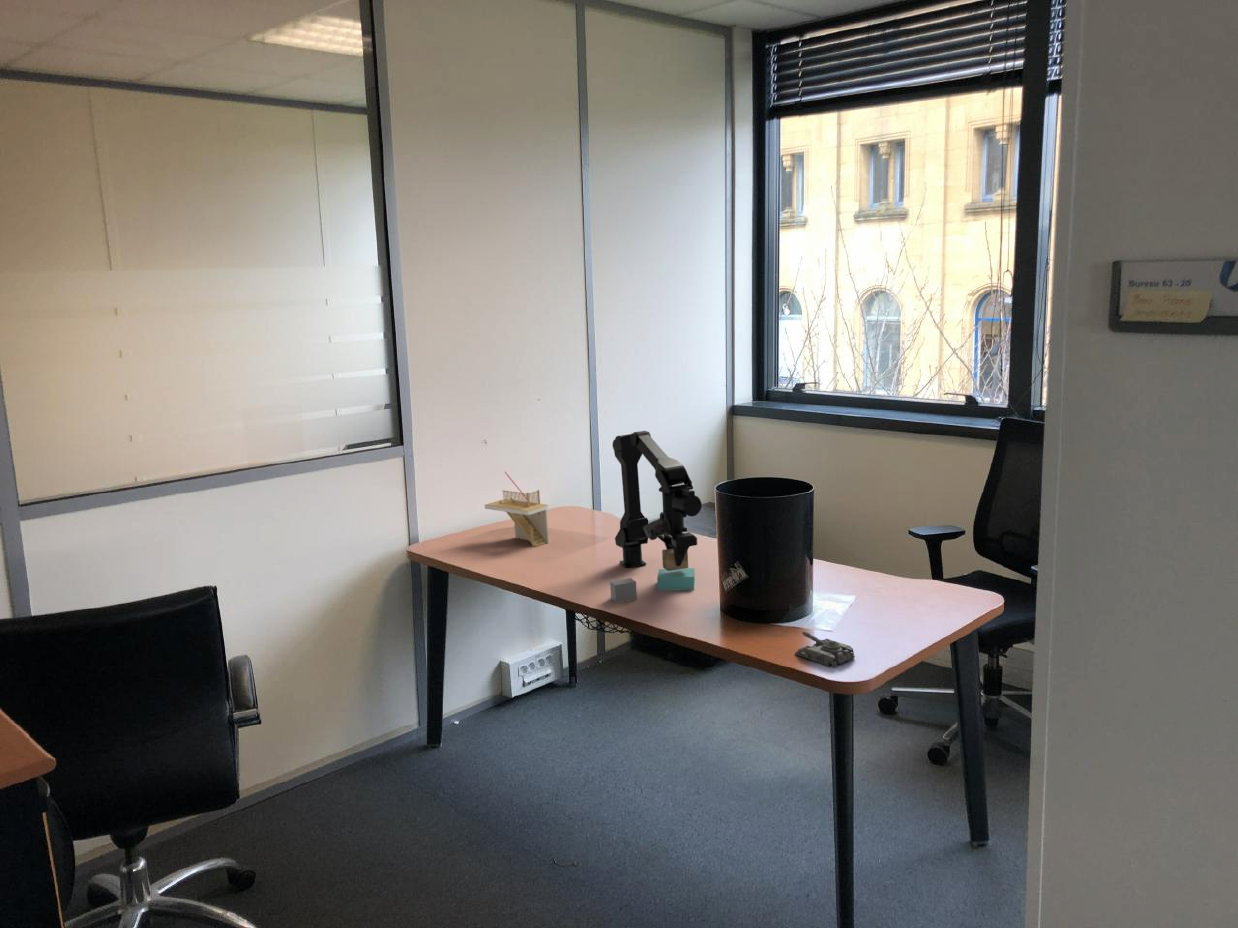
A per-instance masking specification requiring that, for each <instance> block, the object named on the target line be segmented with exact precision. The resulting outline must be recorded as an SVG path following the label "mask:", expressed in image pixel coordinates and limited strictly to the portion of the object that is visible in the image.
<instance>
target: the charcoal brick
mask: <svg viewBox="0 0 1238 928" xmlns="http://www.w3.org/2000/svg"><path fill="white" fill-rule="evenodd" d="M609 582H610V583H609V585H610V599H611V600H612V601H613V602H614V603H615V602H616V603H615V604H618V603H623V602H622V601H624V602H629V600H630V601H636V600H638V598H637V597H638V594H637V592H638V591H637V582H636V580H634V579H633V578H632V577H628V578H621V579H615V580H609ZM617 602H618V603H617Z"/></svg>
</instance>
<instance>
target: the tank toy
mask: <svg viewBox="0 0 1238 928" xmlns="http://www.w3.org/2000/svg"><path fill="white" fill-rule="evenodd" d="M802 635H803V636H804V637H806V638H808V639H810V640H812V641H814V642H815V643H814V644H813V645H812V646H810V645H806V646H804V647H801V648H798V649H797V651H796V652H794V653H795V654H798V655H797V656H799V655H800V656H799V657H801V656H802V658H804V657H805V659H807V658H808V660H810V661H814V662H816V663H820V664H822V665H825V666H830V667H832V668H831V669H834V668H835V667H837V665H841V664H843V663H845V662H848V661H852V660H854V659H855V657H856V655H855V652H854V648H853V647H852V646H851V645H850V644H849V645H848V644H846V643H843V642H842V643H841V642H839V641H836V640H832V639H830V638H824V639H819V638H818V637H816V636H814V635H812V634H811V633H810V632H808V631H805V630H804V631H802ZM833 667H834V668H833Z"/></svg>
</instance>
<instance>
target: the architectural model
mask: <svg viewBox="0 0 1238 928" xmlns="http://www.w3.org/2000/svg"><path fill="white" fill-rule="evenodd" d="M504 473H505V475H506V476H507V477H508V478H509V479H510V481H511V482H512V483H513V484H514V486H515V487H516V488H517V490H518V491H519V492H517V491H510V490H501V492H502V493H503V494H502V495H503V498H502V499H501V500H496V501H493V502H489V503H487V504H486V503H485V504H484V509H485V510H492V511H499V512H504V513H506V514H507V515H508V517H510V518H511V520H512V521H513V522H514V534H515V539H519V538H520V539H519V540H525V541H526V540H527V541H529V543H530V544H531V547H533V548H536V547H537V548H538V547H540V546H543V545H546V544H550V543H549V541H550V540H549V539H550V538H549V528H548V525H549V524H548V513H547V512H548V511H547V510H549V505H548V504H546V503H541V500H540V499H541V497H540V490H539V489H537V490H536V491H532V492H526V493H525V492H523V491H522V490H521V489H520V488H519V487H518V485H517V484H516V483H515V481H514V480H513V479H512V478H511V477H510V476H509V474H508V473H507V471H504Z"/></svg>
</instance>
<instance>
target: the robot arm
mask: <svg viewBox="0 0 1238 928" xmlns="http://www.w3.org/2000/svg"><path fill="white" fill-rule="evenodd" d="M612 449H613V453H614V457H615V459H616V460H617V461H618V463H620V466H621V467H620V469H621V470H620V471H621V481H622V493H623V495H622V496H623V497H622V498H623V506H624V507H623V508H624V510H623V511H624V513H623V515H622V517H621V519H620V520H619V530H618V532H617V534H616V536H615V537H614V541H615V546H617V547H619V548H622V560H619V564H620V565H621V566H623V567H624V568H626V569H627V568H634V567H641V566H646V565H647V563H646V562H645V561H644V560H643V553H642V552H643V551H642V545H645V544H646V545H647V544H648V541H649V540H650V541H655V540H657V538H658V539H659V540H660V541H661V542H662V543H664V546H665V550H666V549H672V548H673V550H674V556H675V561H676V566H681V563H682V561H683V559H684V557H685V554H686V552H687V551H688V550H689V549H690V547H695V546H697V545H698V537H696V536H695V535H694V534H693V533H691V532H688V528H687V527H686V526H685V518H687V516H688V517H695V516H698V514H699V513H700V512H701V511H702V507H703V506H702V500H701V499H700V497H699V496H697V495H696V493H695V490H694V486H693V485H692V484H693V481H692V480H691V478H690V476H689V474H688V472H687V469H686V467H685V466H684V465H683V464H682V463H681V462H680V461H678V460H677V459H674V458H672V457H669V456H668V455H667V454H666V453H665V452H664V450H663V449H662V448H661V447H660V445H658V443H657V442H656V441H655V440H654V439H653V438H652V437H651V433H650V431H647V430H642V431H641V430H640V431H634V432H632V433H630V434H622V435H616V436H615V438H614V439H613V441H612ZM642 456H643V457H644V458H645V459H646V460H647V461H648V462H649V464H650V465H651V466H652V467H653V469H654V470H655V472H654V473H655V474H654V477H655V478H656V480H657V482H658V484H659V485H660V487H659V488H658V491H659V492H660V493H661V494H662V495H661V497H662V498H661V499H662V511H661V512H660V513H659V518H658V519H655V520H653V521H651V522H649V519H648V517H646V516H644V514H643V512H642V508H641V507H642V506H641V493H640V480H639V467H638V466H639V465H638V464H639V462H640V459H641V458H642Z"/></svg>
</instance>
